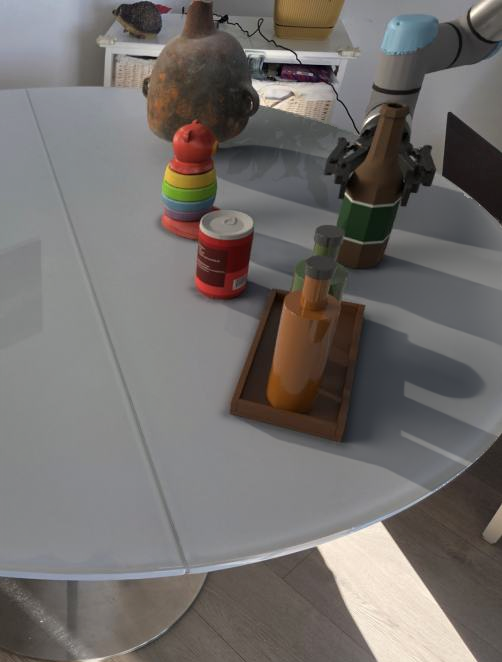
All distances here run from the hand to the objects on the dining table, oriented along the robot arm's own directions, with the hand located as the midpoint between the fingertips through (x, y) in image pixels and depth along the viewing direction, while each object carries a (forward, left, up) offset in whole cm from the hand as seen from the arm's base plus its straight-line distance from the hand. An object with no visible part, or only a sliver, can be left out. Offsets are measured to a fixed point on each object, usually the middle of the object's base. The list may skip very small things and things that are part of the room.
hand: (373, 193), depth 90 cm
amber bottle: (+4, +32, -13) cm, 35 cm away
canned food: (+18, +10, -13) cm, 25 cm away
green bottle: (+4, +25, -13) cm, 28 cm away
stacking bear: (+28, -8, -13) cm, 32 cm away
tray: (+4, +24, -13) cm, 28 cm away
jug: (+36, -41, -13) cm, 57 cm away
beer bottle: (0, -5, -13) cm, 14 cm away
